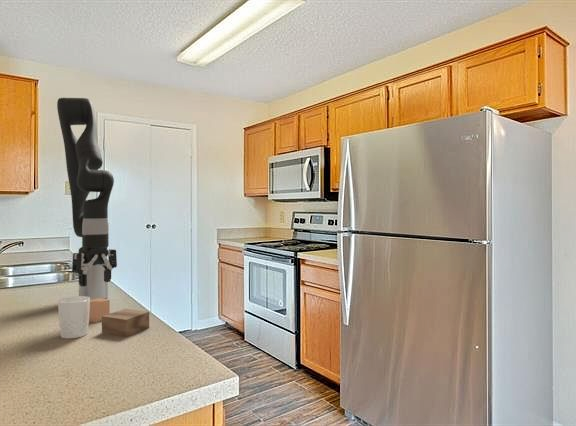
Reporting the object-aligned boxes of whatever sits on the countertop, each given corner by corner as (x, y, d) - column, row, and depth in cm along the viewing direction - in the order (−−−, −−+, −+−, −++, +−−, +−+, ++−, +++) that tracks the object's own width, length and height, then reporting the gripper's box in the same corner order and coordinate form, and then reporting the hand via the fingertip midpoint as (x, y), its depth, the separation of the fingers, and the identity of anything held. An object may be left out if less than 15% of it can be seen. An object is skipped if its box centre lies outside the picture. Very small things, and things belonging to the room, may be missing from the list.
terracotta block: (98, 316, 129) (98, 298, 129) (109, 318, 127) (109, 299, 126) (85, 320, 124) (84, 301, 124) (96, 322, 122) (95, 303, 122)
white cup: (96, 332, 113) (96, 297, 112) (73, 341, 105) (73, 303, 105) (75, 329, 115) (75, 295, 115) (51, 337, 108) (50, 301, 108)
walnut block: (126, 324, 120) (125, 308, 120) (149, 328, 117) (149, 311, 117) (101, 333, 112) (101, 316, 112) (126, 337, 109) (126, 319, 109)
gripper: (106, 231, 133) (106, 279, 133) (66, 233, 120) (66, 286, 120) (122, 232, 129) (122, 281, 130) (82, 234, 117) (82, 289, 117)
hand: (95, 283), depth 125 cm, fingers open, 8 cm apart
